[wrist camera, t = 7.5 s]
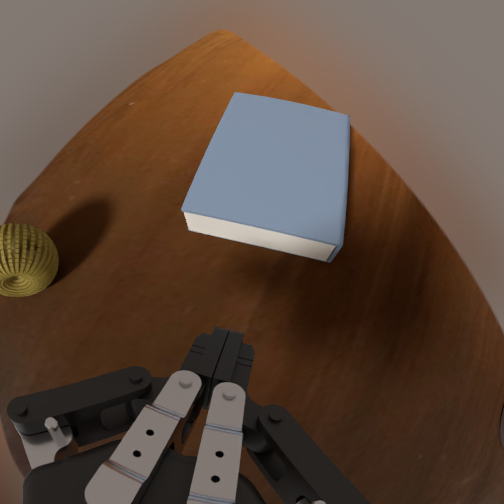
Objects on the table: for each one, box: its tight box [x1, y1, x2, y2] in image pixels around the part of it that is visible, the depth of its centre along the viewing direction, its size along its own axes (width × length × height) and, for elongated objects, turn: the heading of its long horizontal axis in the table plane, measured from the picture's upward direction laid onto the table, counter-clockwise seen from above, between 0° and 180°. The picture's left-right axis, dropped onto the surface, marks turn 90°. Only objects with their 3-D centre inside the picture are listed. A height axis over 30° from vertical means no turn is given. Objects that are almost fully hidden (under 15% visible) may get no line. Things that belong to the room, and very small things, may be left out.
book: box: [181, 92, 350, 263], centre depth 26 cm, size 4×12×15 cm
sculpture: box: [0, 223, 59, 297], centre depth 18 cm, size 8×4×8 cm, turn 112°
